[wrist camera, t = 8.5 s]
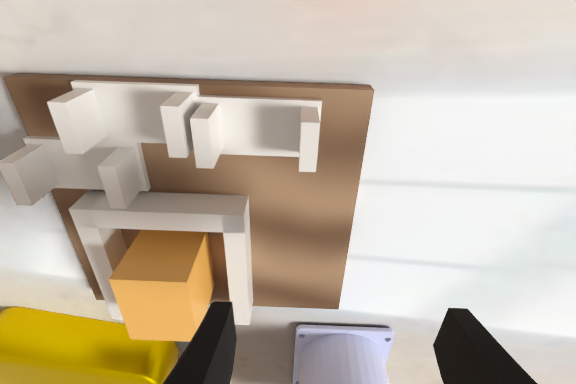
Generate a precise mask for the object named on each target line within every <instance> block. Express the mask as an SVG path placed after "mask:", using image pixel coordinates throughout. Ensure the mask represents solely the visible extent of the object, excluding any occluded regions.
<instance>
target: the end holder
mask: <svg viewBox="0 0 576 384" xmlns="http://www.w3.org/2000/svg"><path fill="white" fill-rule="evenodd" d="M69 211H70V214H71V216H72V219H73V221H74V224H75V227H76V229H77V232H78V234H79V237H80V239H81V242H82V244H83V247H84V249H85V252H86V254H87V257H88V259H89V262H90V264H91V267H92V269H93V272H94V274H95V277H96V279H97V282H98V284H99V287H100V289H101V292H102V294H103V297H104V299H105V302H106V304H107V307H108V309H109V312H110V314H111V317H112V319H113V320H123V317H122V314H121V312H120V309H119V306H118V303H117V301H116V298H115V295H114V293H113V290H112V287H111V284H110V282H109V278H110V277H111V275H112V274H113V272H114V270H115V269H116V267H117V266H118V264H119V263H120V261H121V260H122V258H123V257H124V255H125V254H126V252H127V251H128V250H127V247H126V244H125V240H124V237H123V234H122V231H121V229H143V230H169V231H196V232H223V237H224V247H225V257H226V267H227V277H228V287H229V297H230V302H232V305H233V314H234V322H235V325H250V320H251V313H252V306H253V286H252V263H251V240H250V217H249V196H245V195H218V194H190V193H163V192H139V193H138V194H137V195H136V197H135V198H134V199H133V201H132V202H131V203H130V204H129V206H128V207H127V208H126V209H118V208H110V205H109V202H108V199H107V196H106V193H105V190H88V191H87V192H86V193H85V194H84V195H83V196H82V197H81V198H80V199H79V200H78V201H77V202H76V203H75V204H74V205H73V206H71V207H70V208H69Z"/></svg>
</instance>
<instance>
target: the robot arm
mask: <svg viewBox="0 0 576 384" xmlns="http://www.w3.org/2000/svg"><path fill="white" fill-rule="evenodd" d="M394 337H395V333H394V330H393V329H391V328H376V327H350V326H325V325H298V326H297V327H296V336H295V352H294V367H293V383H292V384H389V379H388V375H387V371H386V366H385V365H386V362H387V359H388V356H389V352H390V349H391V346H392V343H393V340H394ZM235 347H236V331H235V322H234V314H233V305H232V302H221V301H214V302H213V303H211V305H210V307H209V309H208V311H207V313H206V315H205V317H204V318H203V320H202V322H201V324H200V326H199V327H198V329H197V331H196V333H195V334H194V336H193V338H192V339H191V341H190V343H189V344H188V346H187V347H186V349H185V351H184V352H183V354H182V355H181V357H180V358H179V360H178V362H177V363H176V365H175V366H174V368H173V369H172V371H171V372H170V374H169V375H168V376H167V378H166V379H165V381H164V382H163V384H230V380H231V375H232V370H233V363H234V355H235ZM433 347H434V351H435V355H436V359H437V363H438V366H439V370H440V374H441V377H442V380H443V383H444V384H537V383H536V382H535V381H534V380H533V379H532V378H531V377H530V376H529V375H528V374H527V373H526V372H525V371H524V370H523V369H522V368H521V366H520V365H519V364H518V363H517V362H516V361H515V360H514V359H513V358H512V357H511V356H510V355H509V354H508V353H507V352H506V351H505V349H504V348H503V347H502V346H501V345H500V344H499V343H498V342H497V341H496V340H495V339H494V338H493V336H492V335H491V334H490V333H489V332H488V331H487V330H486V329H485V328H484V327H483V325H482V324H481V323H480V322H479V321H478V320H477V319H476V318H475V317H474V316H473V314H472V313H471V312H470V311H469V310H468V309H461V308H448V311H447V313H446V316H445V318H444V320H443V323H442V325H441V328H440V330H439V333H438V335H437V337H436V340H435V342H434V345H433Z"/></svg>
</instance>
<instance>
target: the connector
mask: <svg viewBox="0 0 576 384" xmlns="http://www.w3.org/2000/svg"><path fill="white" fill-rule="evenodd" d="M109 282H110V284H111V287H112V290H113V293H114V295H115V298H116V301H117V303H118V306H119V309H120V312H121V314H122V317H123V320H124V322H125V325H126V328H127V331H128V333H129V336H130V339H136V340H160V341H175V345H176V347H177V348H178V349H179V350H181V351H185V349H186V347H187V346H188V344H189V343H190V341H191V339H192V338H193V336H194V334H195V333H196V331H197V329H198V327H199V326H200V324H201V322H202V320H203V318H204V317H205V315H206V313H207V309H208V306H209V302H210V299H211V295H212V291H213V288H214V284H215V282H214V274H213V267H212V259H211V251H210V243H209V235H208V232H196V231H169V230H143V229H141V231H140V232H139V234H138V235H137V237H136V238H135V240H134V241H133V243H132V244H131V246H130V247H129V249H128V251H127V252H126V254H125V255H124V257H123V258H122V260H121V261H120V263H119V264H118V266H117V267H116V269H115V270H114V272H113V274H112V275H111V277H110V278H109Z"/></svg>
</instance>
